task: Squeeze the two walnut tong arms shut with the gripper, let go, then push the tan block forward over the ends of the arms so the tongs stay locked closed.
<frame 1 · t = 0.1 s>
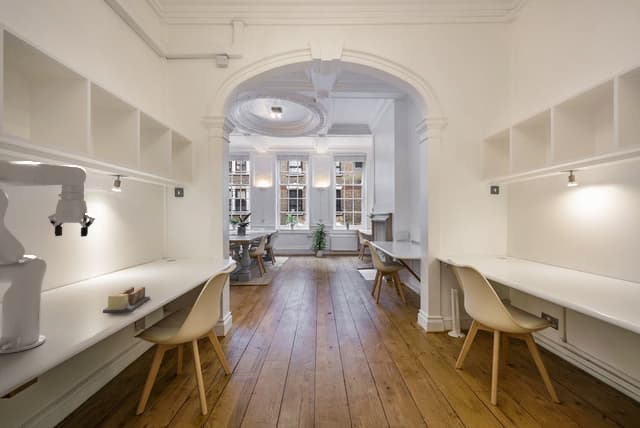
hand: (71, 236, 124), 37 cm above the table, tool pointing down, fingers open, 9 cm apart
tong arm 2: (137, 295, 150), point 4 cm above the table, slide at 0.0 cm
tong mat: (128, 304, 146), on the table
tong arm 1: (125, 295, 149), point 4 cm above the table, slide at 0.0 cm
tan block: (118, 301, 136), point 5 cm above the table, slide at 0.0 cm
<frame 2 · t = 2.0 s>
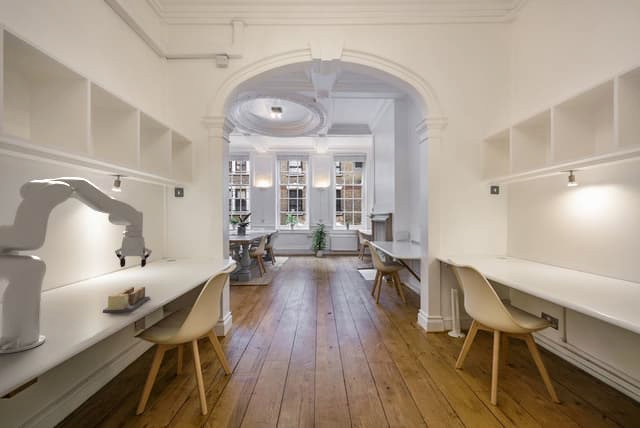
hand: (133, 266, 150), 19 cm above the table, tool pointing down, fingers open, 9 cm apart
nothing on the table moved.
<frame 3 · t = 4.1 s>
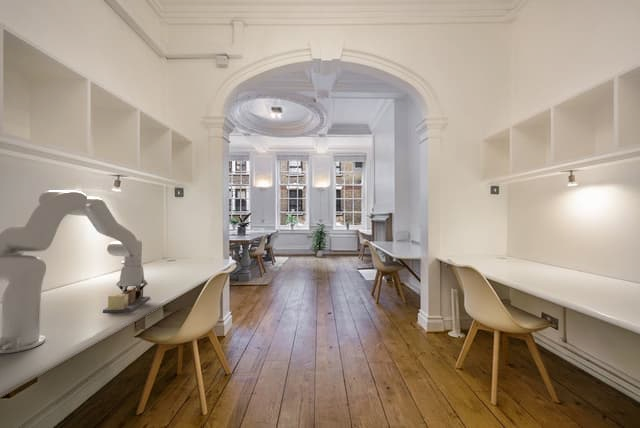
hand: (131, 297, 150), 3 cm above the table, tool pointing down, fingers open, 5 cm apart
tong arm 2: (135, 295, 150), point 4 cm above the table, slide at 1.0 cm
tong arm 1: (128, 295, 149), point 4 cm above the table, slide at 1.1 cm
everything else where it was.
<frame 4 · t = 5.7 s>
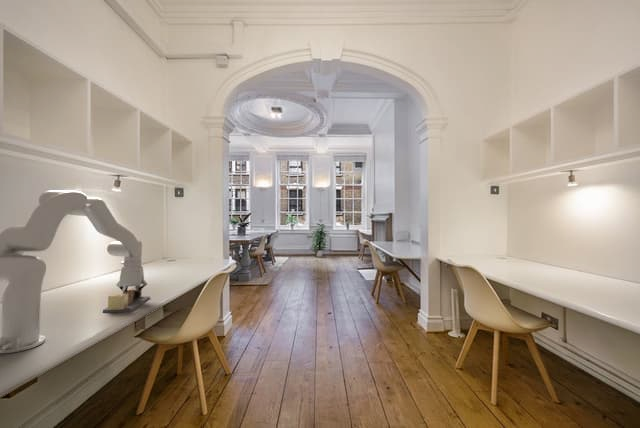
hand: (131, 298, 150), 2 cm above the table, tool pointing down, fingers open, 4 cm apart
tong arm 2: (133, 295, 150), point 4 cm above the table, slide at 1.9 cm
tong arm 1: (129, 295, 149), point 4 cm above the table, slide at 1.9 cm
everything else where it was.
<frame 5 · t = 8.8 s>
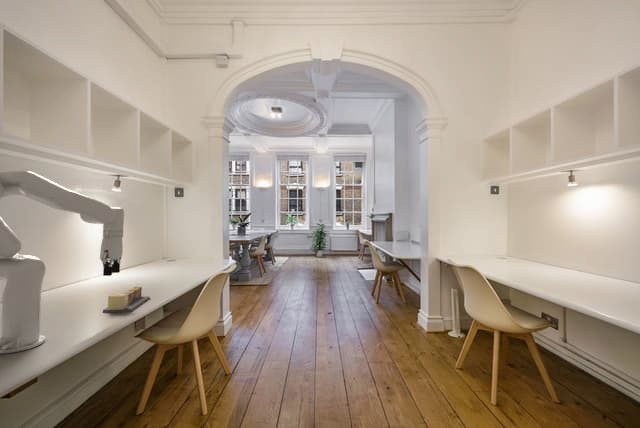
hand: (111, 273, 130), 20 cm above the table, tool pointing down, fingers open, 5 cm apart
nothing on the table moved.
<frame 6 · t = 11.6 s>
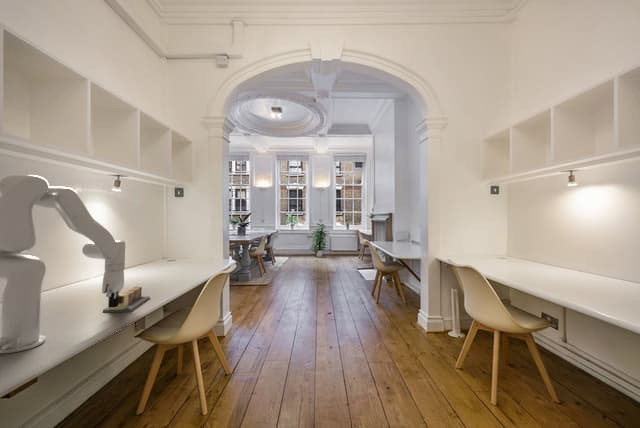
hand: (113, 306, 132), 4 cm above the table, tool pointing down, fingers closed
tan block: (118, 301, 136), point 5 cm above the table, slide at 0.1 cm, touching gripper
everything else where it was.
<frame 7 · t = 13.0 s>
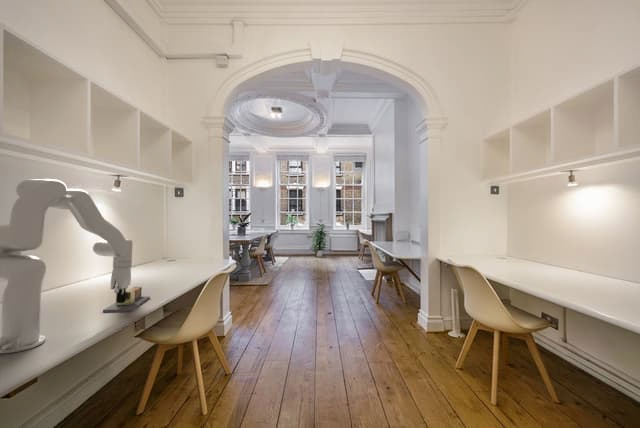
hand: (120, 302, 139), 4 cm above the table, tool pointing down, fingers closed
tan block: (125, 297, 143), point 5 cm above the table, slide at 6.9 cm, touching gripper
everything else where it was.
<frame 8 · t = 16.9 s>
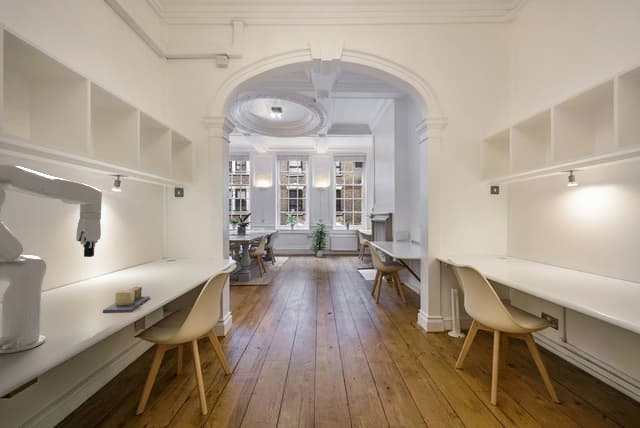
hand: (88, 256, 129), 27 cm above the table, tool pointing down, fingers closed
tan block: (125, 297, 143), point 5 cm above the table, slide at 6.6 cm
everything else where it was.
at the end: tong arm 1 slide at 1.9 cm; tong arm 2 slide at 1.9 cm; tan block slide at 6.6 cm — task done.
